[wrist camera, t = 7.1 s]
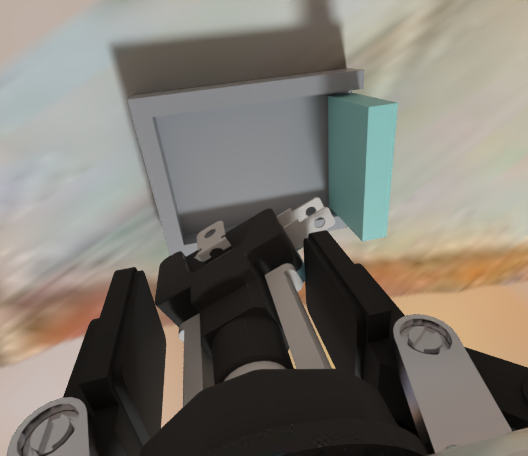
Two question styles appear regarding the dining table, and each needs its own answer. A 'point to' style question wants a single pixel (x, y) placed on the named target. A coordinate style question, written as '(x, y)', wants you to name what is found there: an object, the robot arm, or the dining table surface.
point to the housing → (237, 150)
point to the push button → (262, 353)
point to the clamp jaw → (361, 161)
